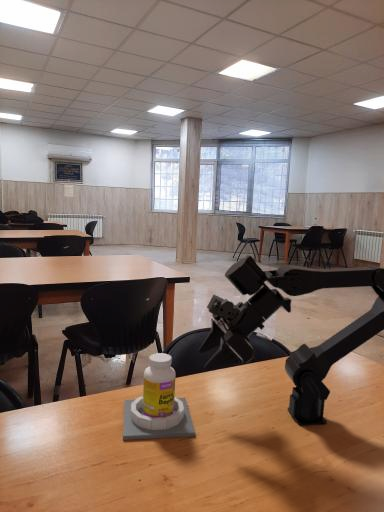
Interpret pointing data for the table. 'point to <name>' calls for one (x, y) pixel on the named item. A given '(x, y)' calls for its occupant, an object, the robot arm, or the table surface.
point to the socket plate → (156, 421)
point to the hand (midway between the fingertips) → (202, 360)
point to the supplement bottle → (159, 387)
